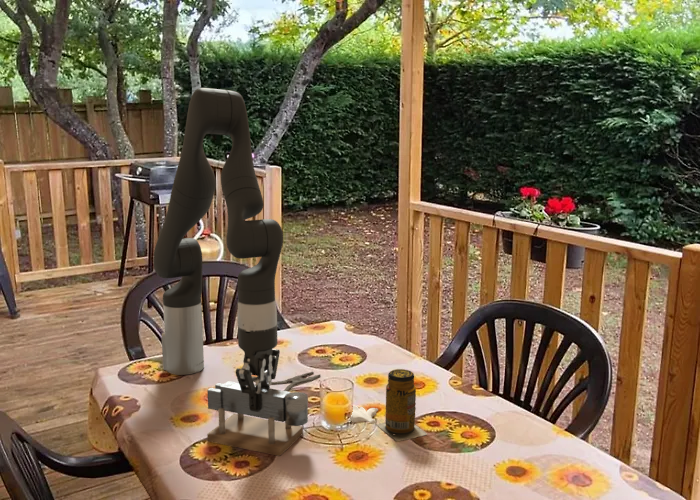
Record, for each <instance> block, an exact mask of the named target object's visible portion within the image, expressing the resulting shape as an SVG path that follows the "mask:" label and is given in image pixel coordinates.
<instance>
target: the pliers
mask: <svg viewBox="0 0 700 500" xmlns="http://www.w3.org/2000/svg"><path fill="white" fill-rule="evenodd" d="M313 374H315V373H314V371H310V372H307V373H303V374H298V375H296V376H294V377H291V378H287V379H285V380H280V381H278V380H277V381H272V383H271V385H270V386H273V385H274V386H275V385H287V384H289V385H287V386H286V387H285V389H284V390H283V391H287V392H290V390H291V389H292V388H293V387H296V386H298V385H300V384H304V383H309V382H312V381H315V380H317V379H319V378H320V377H321V374H315V375H313ZM312 375H313V376H312ZM254 386H256V383H255V384H254Z"/></svg>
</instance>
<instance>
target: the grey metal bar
mask: <svg viewBox="0 0 700 500" xmlns="http://www.w3.org/2000/svg"><path fill="white" fill-rule="evenodd" d="M214 387H215V388H213V387H210V388H208V389H207V391H206V392H207V409H209V410H213V411H218V409H219V408H224V409H225V412H229V413H233V414H238V413H239V414H244V416H249V417H255V418H260V419H265V420H268V418H269V417H274V421H276V422H282V423H286V424H288V425H291V426H303V425H306V424H307V423H308V419H309V418H308V417H309V411H308V410H309V408H308V407H309V402H308V401H309V398H308V397H309V395H308V394H307V393H304V392H302V391H301V392H300V391H293V392H291V391H288V392H287V391H284V390H281V389H274V388H264V387H261V390H260V393H261V410H260V411H259V412H256V411H251V410H250V408H249V394H248V393H242V391H241V388H240V385H239V382H235V381H231V380H228V381H226V382H225V383H221V382H217V383H216V384H214ZM246 387H247V386H246ZM255 387H256V386H255Z"/></svg>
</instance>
